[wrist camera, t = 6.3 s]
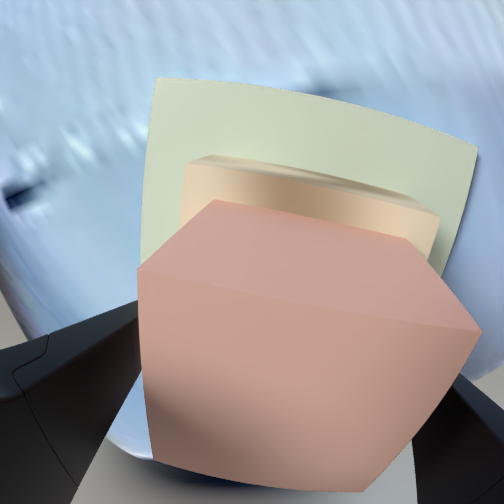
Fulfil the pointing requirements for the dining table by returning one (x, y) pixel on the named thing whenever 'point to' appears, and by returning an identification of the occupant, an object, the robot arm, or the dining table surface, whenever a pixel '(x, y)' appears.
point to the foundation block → (306, 197)
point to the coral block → (292, 348)
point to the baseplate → (297, 149)
